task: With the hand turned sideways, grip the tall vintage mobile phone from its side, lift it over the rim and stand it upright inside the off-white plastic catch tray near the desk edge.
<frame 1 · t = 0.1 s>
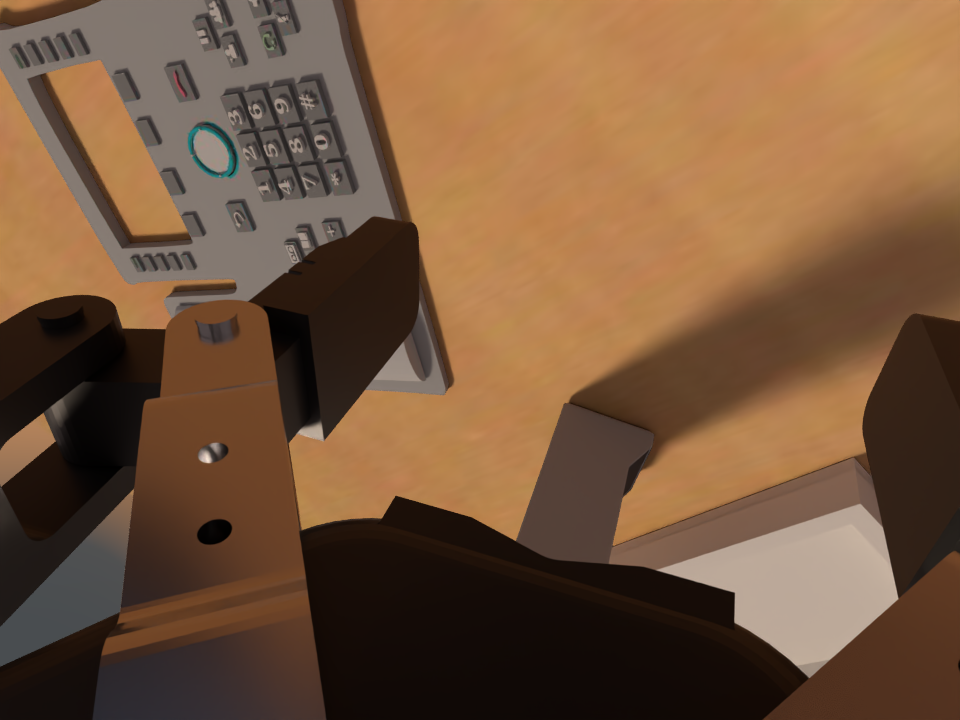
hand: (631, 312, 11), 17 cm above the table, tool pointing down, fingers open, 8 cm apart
catch tray: (788, 584, 39), on the table
vintage mobile phone: (601, 435, 37), on the table
office telephone: (242, 205, 36), on the table
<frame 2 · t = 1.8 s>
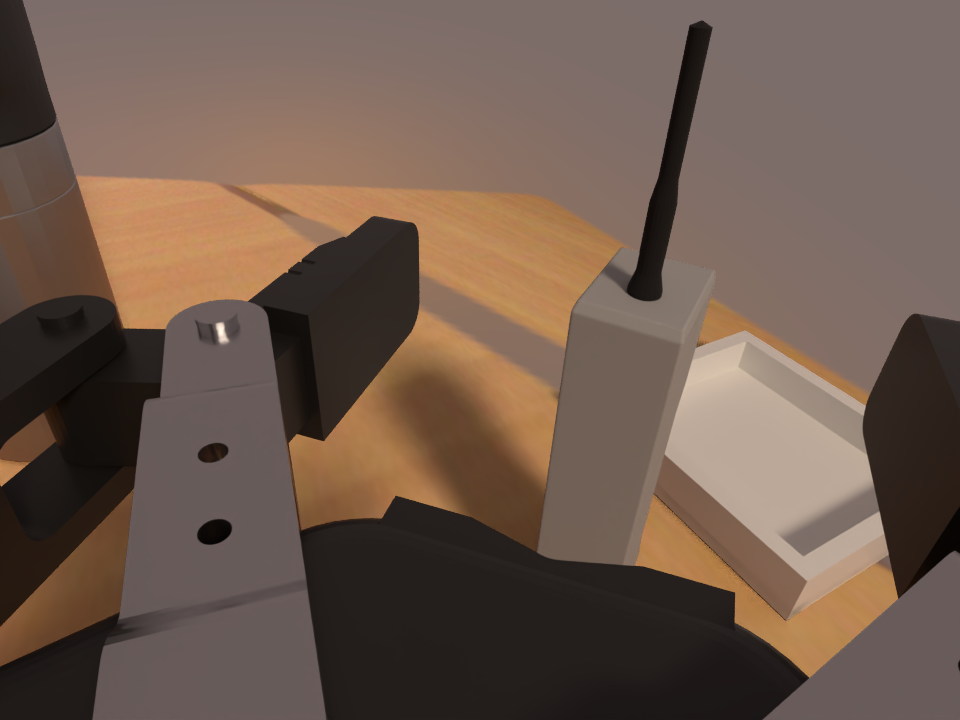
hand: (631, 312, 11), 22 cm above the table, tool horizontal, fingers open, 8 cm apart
catch tray: (754, 465, 40), on the table
vintage mobile phone: (583, 588, 33), on the table
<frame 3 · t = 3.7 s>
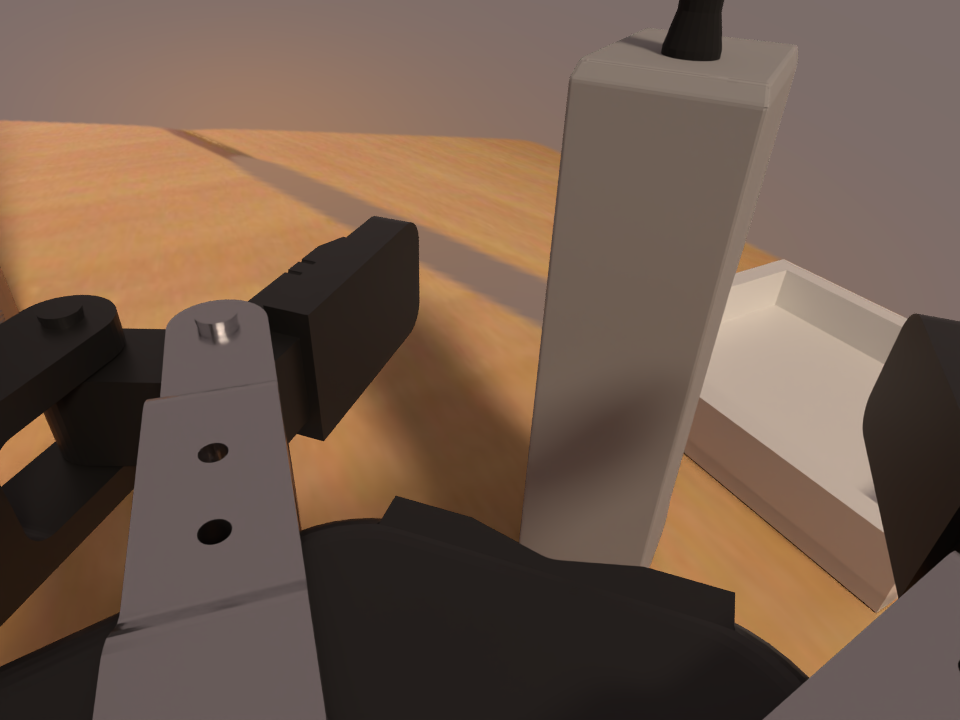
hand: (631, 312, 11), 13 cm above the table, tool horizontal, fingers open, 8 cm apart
catch tray: (807, 415, 31), on the table
vintage mobile phone: (589, 570, 24), on the table
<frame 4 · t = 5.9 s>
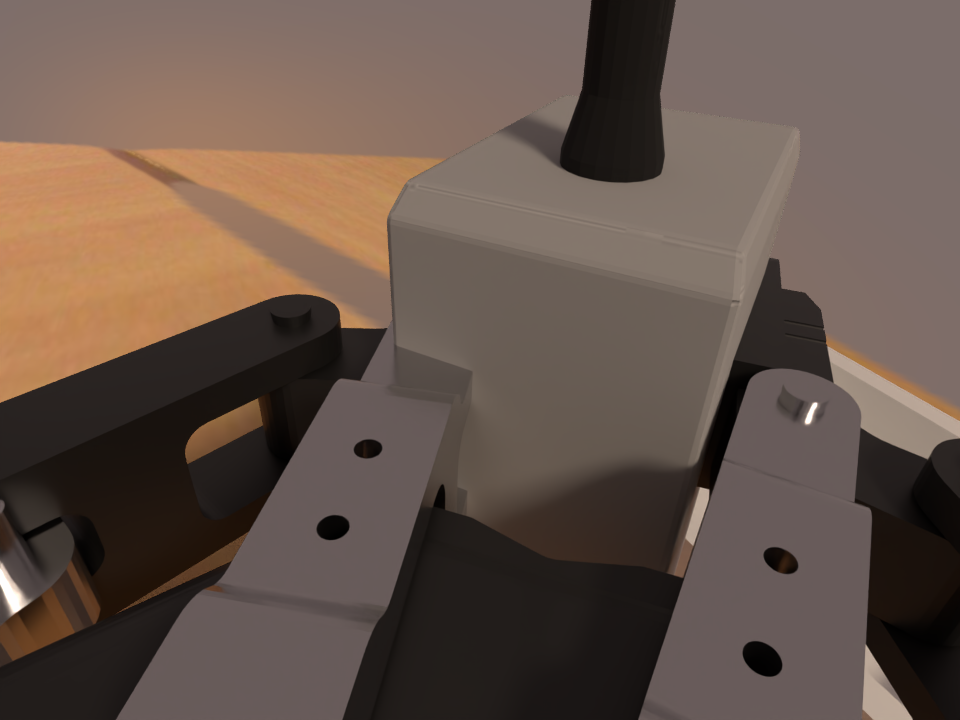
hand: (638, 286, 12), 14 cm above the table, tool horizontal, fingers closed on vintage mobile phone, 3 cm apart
catch tray: (817, 535, 25), on the table
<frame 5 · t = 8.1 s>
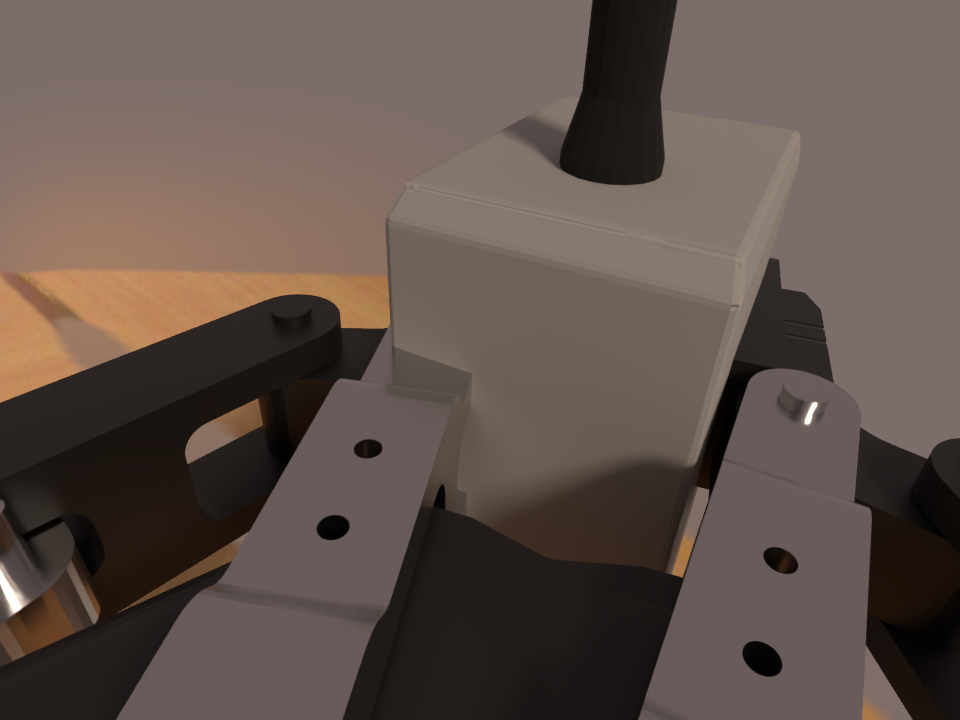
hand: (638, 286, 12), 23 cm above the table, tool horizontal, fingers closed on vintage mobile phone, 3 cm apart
when the fingers open (15 cm above the table, at t = 10.5 s): vintage mobile phone stays where it is, resting on catch tray.
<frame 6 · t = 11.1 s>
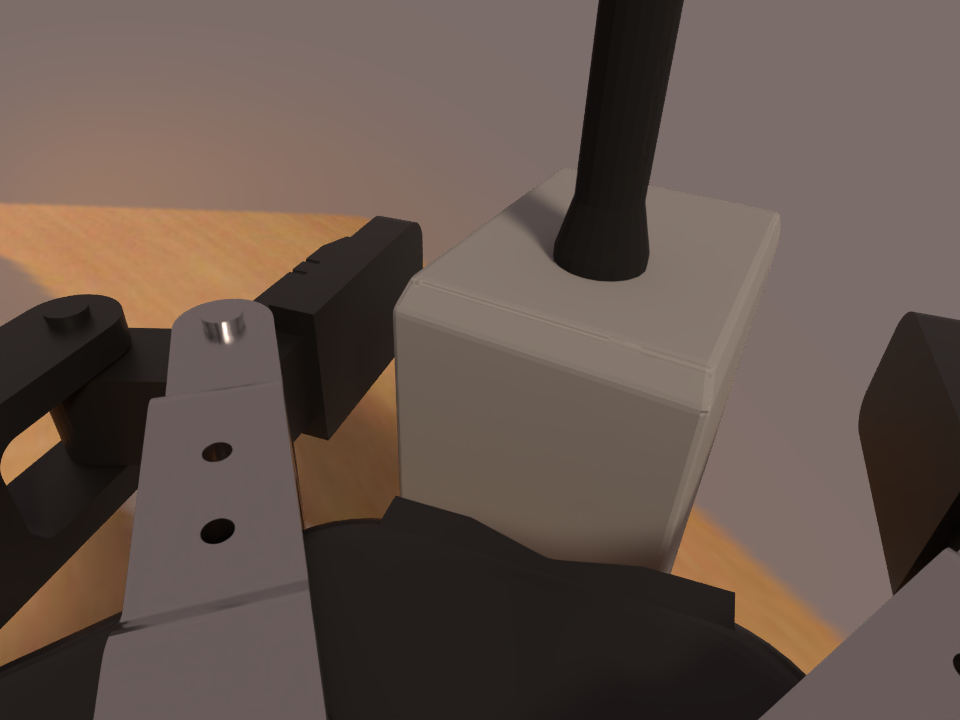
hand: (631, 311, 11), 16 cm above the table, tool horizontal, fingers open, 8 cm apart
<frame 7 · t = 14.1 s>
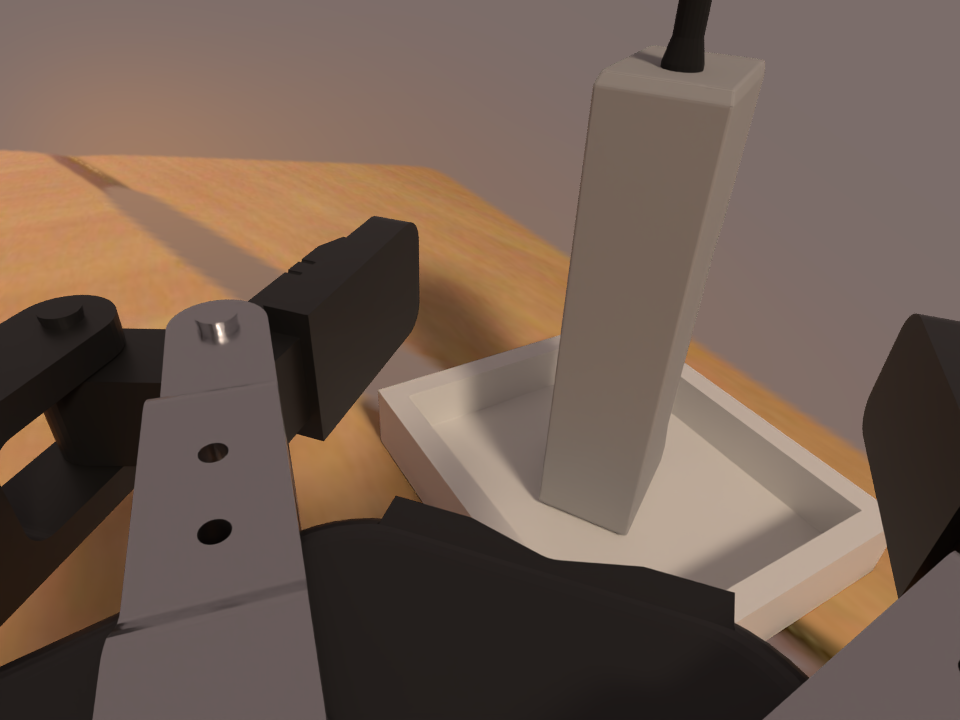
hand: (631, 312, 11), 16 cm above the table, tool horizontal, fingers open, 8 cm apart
catch tray: (605, 500, 29), on the table
vintage mobile phone: (600, 487, 29), point 1 cm above the table, touching catch tray
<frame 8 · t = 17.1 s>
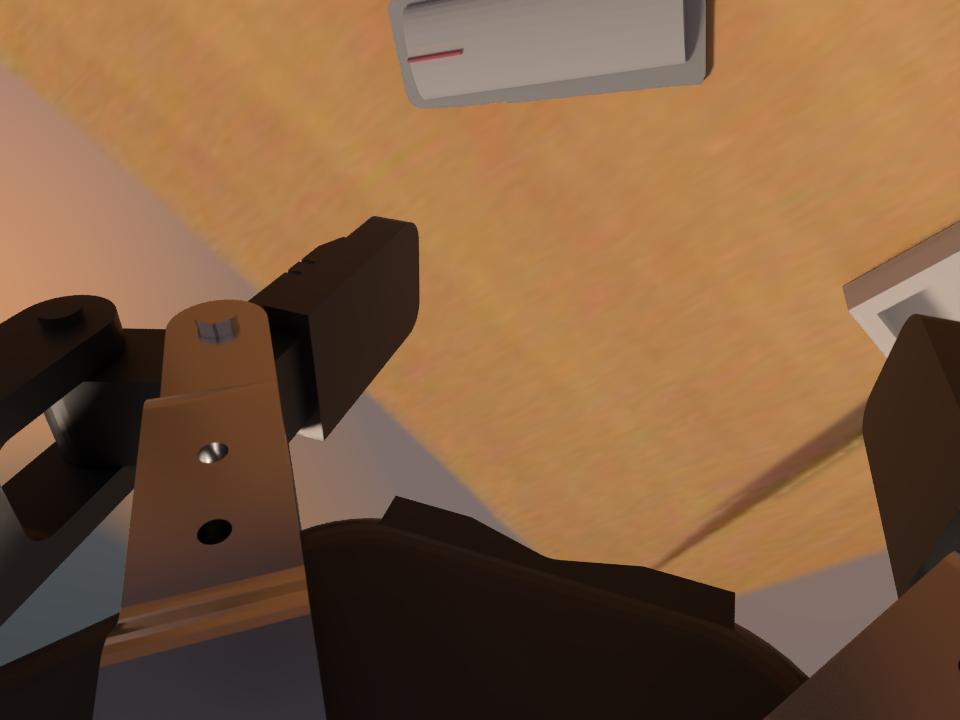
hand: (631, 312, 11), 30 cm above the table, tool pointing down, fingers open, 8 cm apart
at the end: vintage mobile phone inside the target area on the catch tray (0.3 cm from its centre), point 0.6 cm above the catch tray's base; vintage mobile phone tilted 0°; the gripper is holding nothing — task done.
